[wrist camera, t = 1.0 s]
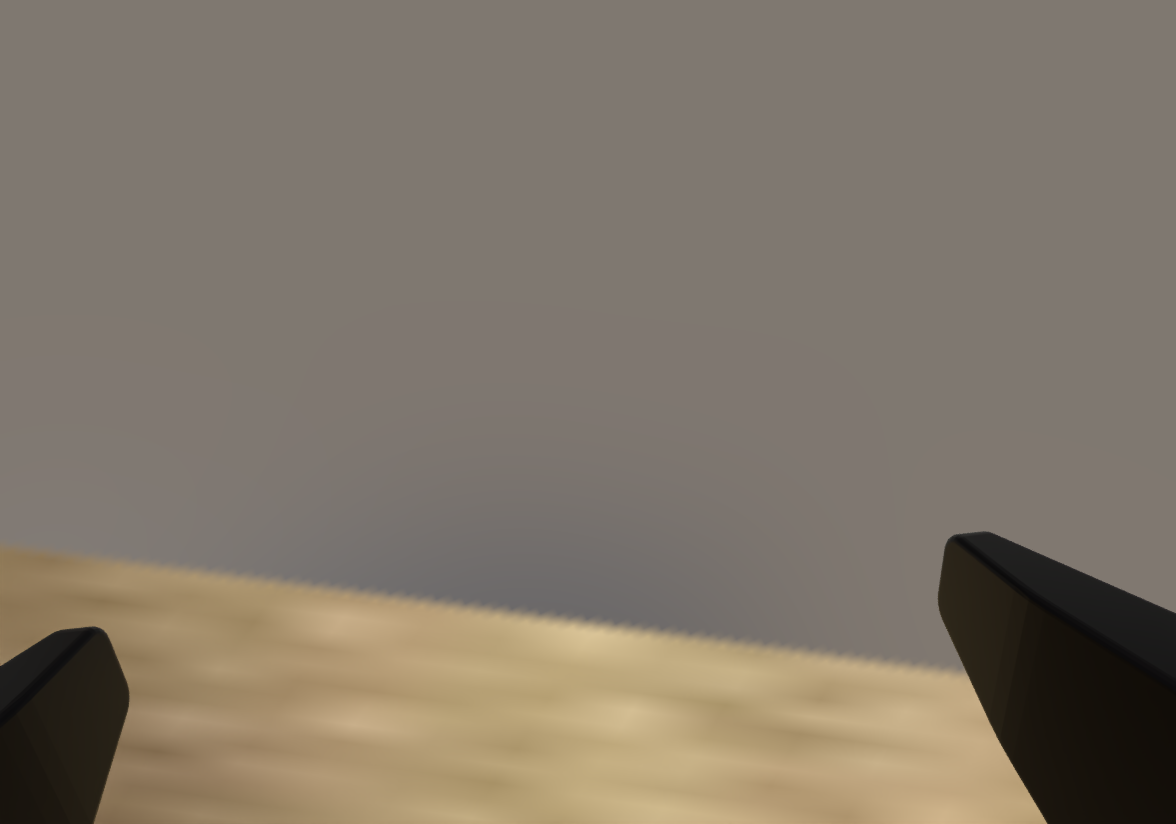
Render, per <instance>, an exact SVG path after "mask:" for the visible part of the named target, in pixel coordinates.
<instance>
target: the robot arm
mask: <svg viewBox="0 0 1176 824" xmlns="http://www.w3.org/2000/svg"><path fill="white" fill-rule="evenodd" d="M938 606H939V611H940V615H941V617H942V620H943V622H944V624H945V627H946V629H947V631H948V633H949V635H950V637H951V640H952V642H953V644H954V646H955V648H956V650H957V652H958V655H959V657H960V659H961V661H962V663H963V666H964V668H965V670H966V672H967V674H968V676H969V679H970V681H971V683H972V685H973V687H974V689H975V692H976V694H977V696H978V698H979V700H980V703H981V705H982V707H983V709H984V711H985V713H986V716H987V718H988V720H989V722H990V724H991V726H992V728H993V730H994V732H995V734H996V736H997V738H998V740H999V742H1000V744H1001V746H1002V747H1003V749H1004V751H1005V753H1006V754H1007V756H1008V758H1009V760H1010V761H1011V763H1012V765H1013V767H1014V768H1015V770H1016V772H1017V773H1018V775H1019V777H1020V778H1021V780H1022V782H1023V783H1024V785H1025V787H1026V788H1027V790H1028V792H1029V793H1030V795H1031V797H1032V798H1033V800H1034V802H1035V803H1036V805H1037V807H1038V809H1039V810H1040V812H1041V814H1042V815H1043V817H1044V819H1045V820H1046V822H1047V824H1176V613H1174V612H1172V611H1169V610H1167V609H1164V608H1162V607H1160V606H1158V605H1155V604H1153V603H1151V602H1149V601H1146V600H1144V599H1142V598H1140V597H1137V596H1135V595H1133V594H1130V593H1128V592H1126V591H1124V590H1121V589H1119V588H1117V587H1114V586H1112V585H1110V584H1108V583H1105V582H1103V581H1101V580H1098V579H1096V578H1094V577H1092V576H1089V575H1087V574H1085V573H1082V572H1080V571H1078V570H1075V569H1073V568H1071V567H1069V566H1066V565H1064V564H1062V563H1060V562H1057V561H1055V560H1052V559H1050V558H1048V557H1046V556H1044V555H1041V554H1039V553H1037V552H1034V551H1032V550H1030V549H1028V548H1025V547H1023V546H1021V545H1018V544H1016V543H1014V542H1012V541H1009V540H1007V539H1005V538H1002V537H1000V536H998V535H995V534H993V533H991V532H984V531H983V532H974V533H965V534H956V535H953V536H952V537H950V538H949V539H948V541H947V543H946V545H945V550H944V556H943V563H942V570H941V577H940V584H939V591H938ZM128 707H129V688H128V684H127V681H126V679H125V676H124V674H123V671H122V669H121V666H120V664H119V661H118V659H117V656H116V654H115V651H114V649H113V647H112V644H111V642H110V639H109V637H108V635H107V634H106V632H105V631H104V630H102V629H101V628H98V627H83V628H74V629H65V630H59V631H56V632H54V633H52V634H50V635H49V636H47V637H46V638H44V639H43V640H41V641H39V642H38V643H36V644H35V645H33V646H32V647H30V648H28V649H27V650H25V651H24V652H22V653H20V654H19V655H17V656H16V657H14V658H13V659H11V660H9V661H8V662H6V663H5V664H3V665H2V666H0V824H94V821H95V817H96V814H97V811H98V808H99V804H100V801H101V798H102V794H103V791H104V788H105V784H106V781H107V778H108V775H109V771H110V768H111V765H112V761H113V758H114V755H115V751H116V748H117V745H118V741H119V738H120V735H121V732H122V728H123V725H124V722H125V718H126V715H127V712H128Z"/></svg>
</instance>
